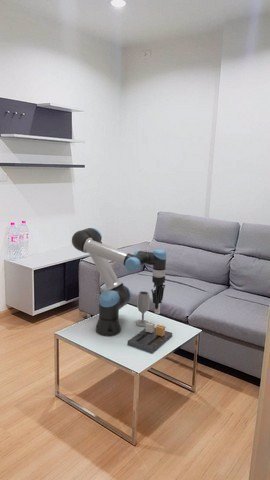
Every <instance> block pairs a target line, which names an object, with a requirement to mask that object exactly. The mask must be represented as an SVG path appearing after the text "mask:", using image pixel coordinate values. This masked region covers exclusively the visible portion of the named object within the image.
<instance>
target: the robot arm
mask: <svg viewBox="0 0 270 480" xmlns="http://www.w3.org/2000/svg"><path fill="white" fill-rule="evenodd" d="M102 238H103V236H102V233H101V232H100V230H98V229H97V228H95V227H88V228H84V229H80V230H78V231H76V232H74V233H73V235H72V237H71V244H72V246H73V247H74V249H76V251H79V252H82V253H84V254H89V255H90V257H91V259H92V261H93V263H94V265H95V267H96V269H97V271H98V273H99V275H100V277H101V278H102V281H103V283H104V284H105V287H106V289H105V291H103V292H102V293H101V294H100V295H99V300H98V302H99V305H98V306H99V307H98V320H97V322H96V325H95V332H96V333H97V334H98V335H101V336H104V337H113V336H117V335H118V334H120V333H121V332H122V325H121V324H120V323H121V321H120V319H119V314H120V313H119V312H120V310H121V309H122V308H124V307H125V306H127V305H128V304H129V303H130V301H131V299H132V291H131V290H130V287H128V286H127V285H124V283H123V282H122V281H119V278H118V277H117V275H116V273H115V271H114V269H113V267H112V265H111V263H110V261H111V262H113V263H115V264H118V265H122V266H124V267H125V268H126V269H127V271H130V272H133V271H136V270H138V269H140V268H141V267H143V266H145V265H149V266H152V280H151V281H152V283H153V289H151V290H150V291H151V295H152V296H151V297H152V304H154V314H157V315H160V314H161V313H160V312H161V304H162V302H163V298H164V291H165V287H166V285H165V284H164V283H166V274H167V273H166V267H167V251H166V250H164V249H160V248H159V249H157V248H156V249H153V251H152V252H150V251H145V250H135V251H134V253H133V254H131V253H129V252H125V251H123V250H120V249H118V248H115V247H112V246H109V245H106V244H104V243H103V242H102V240H103V239H102Z"/></svg>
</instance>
